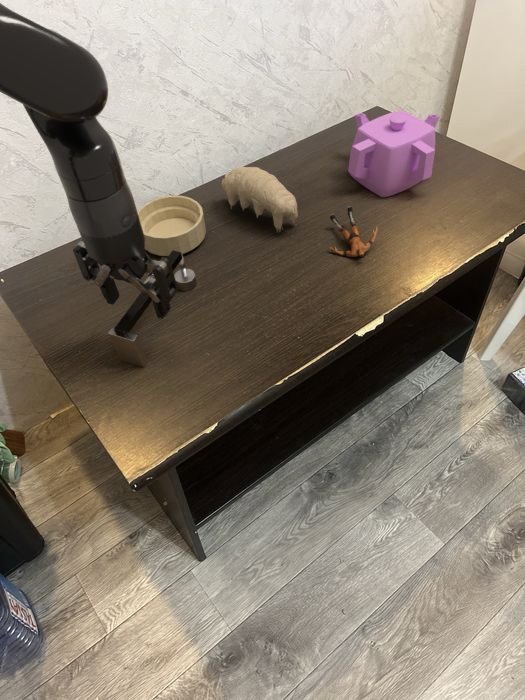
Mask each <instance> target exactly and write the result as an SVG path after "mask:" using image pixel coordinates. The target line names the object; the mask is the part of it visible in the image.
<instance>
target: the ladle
mask: <svg viewBox="0 0 525 700" xmlns="http://www.w3.org/2000/svg"><path fill="white" fill-rule="evenodd" d="M166 258H167V259H168V260H169V261H170V264H171V267H172V270H173V272H174V271H175V270H176V269H177V267H179V270H176V272H175V274H174V277H175V280H176V283H177V286H178V291H182V292H189V291H191V290H193V289H194V288H196V286H197V283H198V282H197V277H196V273H195V271H194V270H193V269H190V268H187V267H186V263H185V259H184V254H182V253H181V252H178V251H174V250H172V252H171V253H170V254H169V256H166ZM151 287H152V289H153V290H154V291H155V292H156V291H157V289H158V288H157V287H156V286H155V285H154V284H152V285H151ZM152 301H153V300H152V299H151V298H150V297H149V296H148V295H147V294H146V293H145V292H140V293H139V294H138V296H137V297H136V298H135V300H134V301H133V303H132V304H131V305H130V306H129V308H127V311H126V312H125V313H124V315H122V317H121V319H120V320H119V321H118V323H117V324H116V325H115V327H111V328H110V330H109V331H108V333H107V334H108V337H109V339H110V341H111V343H112V346H113V348H114V349H115V352H116V355H117V357H118V359H119V361H121V362H125V363H128V364H132V365H134V366H138V367H141V368H145V367H146V365H147V364H148V362H149V361H148V358H147V356H146V353H145V351H144V348H143V345H142V342H141V340H140V338H139V335H138V334H135V333H131V331H132V330H133V328H134V327H135V325H136V324H137V323H138V321H139V320H140V318H141V317H142V316H143V314H144V313H145V311H146V310H147V309H148V307H149V306H150V305H151V303H153V302H152Z"/></svg>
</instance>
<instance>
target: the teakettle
mask: <svg viewBox="0 0 525 700" xmlns="http://www.w3.org/2000/svg"><path fill="white" fill-rule="evenodd" d="M354 118H355V124H356V129H357V131H356V134H355V137H354V139H353V143H352V145H351V146H352V147H351V151H350V155H349V161H348V170H347V172H348V173H349V175H350V177H351V178H352V179H353V180H354V181H356V182H358V183H359V184H360V185H362V186H363V187H364V188H366V189H368V190H369V191H370V192H372V193H374V194H375V195H377V196H379V197H380V198H388V197H391V196H394V195H396V194H400V193H402V192H404V191H407V190H409V189H411V188H412V187H414V186H416V185H418V184H419V183H420V182H422V181H425V180H427V179H430V178H432V175H433V167H434V161H435V154H436V127H437V124H438V121H439V119H440V116H439V115H437V114H435V113H433V114H428V116H427V117H426V118H425V120H422V119H420V118H418V117H417V116H415V115H413V114H411V113H409V112H407V111H406V110H405V111H404V110H403V109H402V110H401V109H400V110H396V111H392V112H389V113H387V114H386V113H385V114H384V115H381V116H378V117H376V118H374V119H372V120H369V118H368V117H367V114H366V113H362V112H359V113H357V114H354Z"/></svg>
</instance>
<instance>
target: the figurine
mask: <svg viewBox="0 0 525 700" xmlns="http://www.w3.org/2000/svg"><path fill="white" fill-rule="evenodd" d="M346 208H347V216H348V218H349V225H350V227H351V233H350V232H349V231H348V230H347V229H345V228H344V227H343V226H342V225H341V224H340V222H339V221H338V219H337V217H336V215H335V214H334V213H332V214H330V215H329V219H330V221H332V222H333V224H335V226H336V227H337V229H338V231H339V232H340V233H341V234H342V236H343V238H344V239H345V240H346V241H347V243H348V244H349V246H350V250H346V251H343V250H338V248H337V247H336V246H333V247H334V248H333V247H331V246H329V250H330V251H331V252H333V253H335V254H337V255H340V256H341V257H342V256H343V257H344V256H345V257H351V258H353V257H359V258H360V259H364V258H365V253H367V252H368V251H369V249H371V246H372V245H373V244H374V242H375V240H376V236H377V234H378V230H379V229H378V226H375V230H374V229H372V236H371V237H370V239H369V240H368V241H367V242H366V243H363V241H362V240H361V237H360V234H359V230H358V227H357V225H356V221H355V220H354V218H353V213H354V212H353V207H352V206H350V205H349V206H348V207H346Z"/></svg>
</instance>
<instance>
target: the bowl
mask: <svg viewBox="0 0 525 700" xmlns="http://www.w3.org/2000/svg"><path fill="white" fill-rule="evenodd" d="M137 212H138V216H139V219H140V223H141V226H142V230H143V233H144V237H145V251H148V252H149V254H153V255H156V256H159V257H168V256H169V254H170V253H171V252H172V250H174V251H178V252H181V253H182V254H183V255H184V254H186V253H188V252H191V251H192V250H194V249H195V248H197V247H198V246H200V244H201V243H202V242H203V241H204V240H205V237H206V235H207V228H206V227H207V226H206V222H205V217H204V210H203V207H202V205H201V204H200V203H199V202H198V201H196V200H195V199H193V198H192V197H189V196H185V195H166V196H165V195H164V196H159V197H157V198H154V199H151V200H149V201H148V202H147V203H144V204H143V205H142V206H141V207H140V208H139V209H137Z"/></svg>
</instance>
